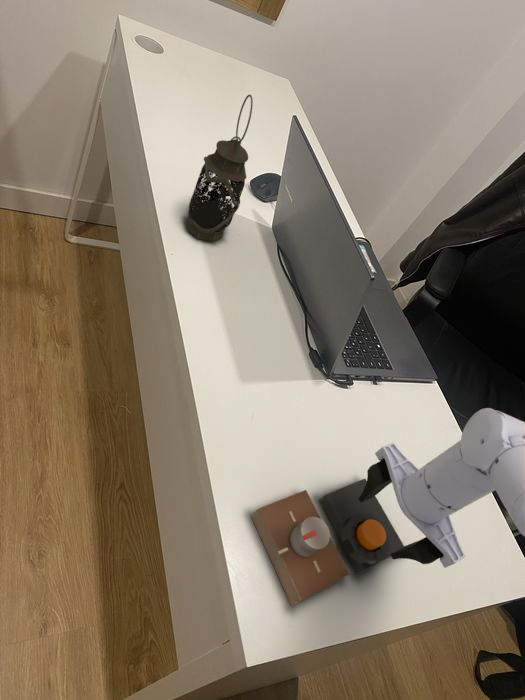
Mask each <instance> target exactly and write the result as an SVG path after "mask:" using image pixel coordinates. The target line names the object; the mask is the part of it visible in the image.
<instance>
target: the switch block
mask: <svg viewBox="0 0 525 700" xmlns="http://www.w3.org/2000/svg"><path fill="white" fill-rule="evenodd" d="M366 482H367V478H363V479H360V480H358V481H355V482H352V483H350V484H348V485H346V486H343V487H341V488H339V489H336V490H333V491H331V492H329V493H327V494H326V493H325V494H324V495H323V496H322V497H321V498H320V499H318V502H319V504H320V506H321V508H322V510H323V511H324V514H325V515H326V518H327V520H328V521H329V524H330V525H331V527H332V529H333V531H334V533H335V535H336V537H337V539H338V540H339V542H340V545H341V546H342V548H343V550H344V552H345V554H346V556H347V558H348V559H349V562H350V563H351V565H352V567H353V569H354V571H355V573H356V575H360V574H362V573H363V572H366V571H368V570H369V569H370V568H372V567H375V566H377V564H380V563H382V562H383V561H385V560H387V559H389V558H390V557H391V555H390V554H392V553H394V552H395V551H397V550H399V549H401V548H403V547H404V546H405V545H404V543H403V541H402V540H401V538H400V536H399V534H398V533H397V531H396V530H395V528H394V525H393V524H392V523H391V520H390V519H389V518H388V515H387V514H386V512H385V510H384V508H383V507H382V505H381V503H380V502H379V500H378V498H377V497H376V496H377V495H375V496H374V497H372V498H370V499H368V500H366V501H364V502H362V503H361V502H360V501H359V499H358V498H359V497H360V495H361V494H362V492H363V490H364V488H365V485H366ZM369 519H373V520H376V521H378V522H379V523H380V524H381V525H382V526H383V528H384V530H385V533H386V540H385V543H384V544H383V545H382V546H380V547H378V548H376V549H374V550H368V549H365V548H364V547H363V546H361V544H360V543H359V541H358V539H357V536H356V531H357V528H358V526H359V525H360V524H362V523H363V522H365V521H366V520H369Z"/></svg>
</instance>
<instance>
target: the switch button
mask: <svg viewBox="0 0 525 700" xmlns="http://www.w3.org/2000/svg"><path fill="white" fill-rule="evenodd" d="M356 536H357V539H358V541H359V543H360V544H361V546H363V547H364V548H365V549H368V550H374V549H376V548H378V547H380V546H382V545H383V544H384V543H385V540H386V533H385V530H384V528H383V526H382V525H381V524H380V523H379V522H378V521H376V520H373V519H369V520H366V521H365V522H363V523H362V524H360V525H359V526H358V528H357V531H356Z"/></svg>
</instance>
